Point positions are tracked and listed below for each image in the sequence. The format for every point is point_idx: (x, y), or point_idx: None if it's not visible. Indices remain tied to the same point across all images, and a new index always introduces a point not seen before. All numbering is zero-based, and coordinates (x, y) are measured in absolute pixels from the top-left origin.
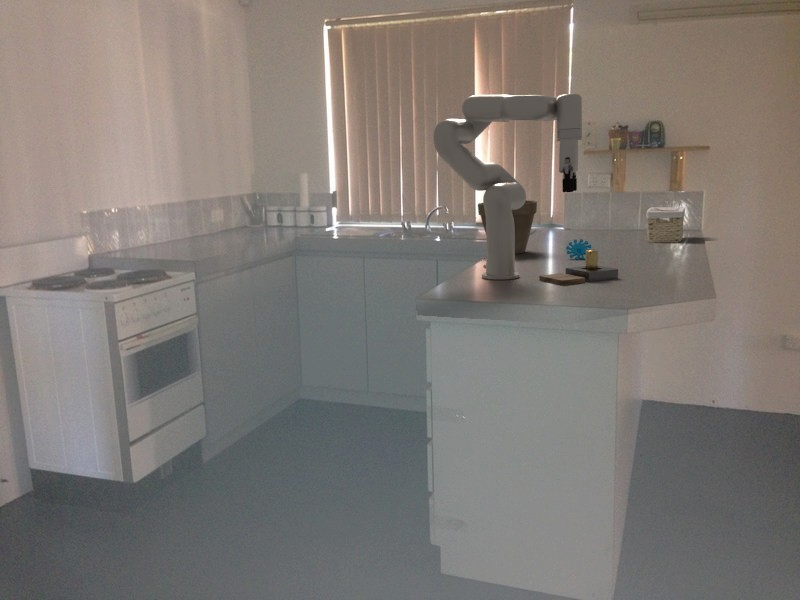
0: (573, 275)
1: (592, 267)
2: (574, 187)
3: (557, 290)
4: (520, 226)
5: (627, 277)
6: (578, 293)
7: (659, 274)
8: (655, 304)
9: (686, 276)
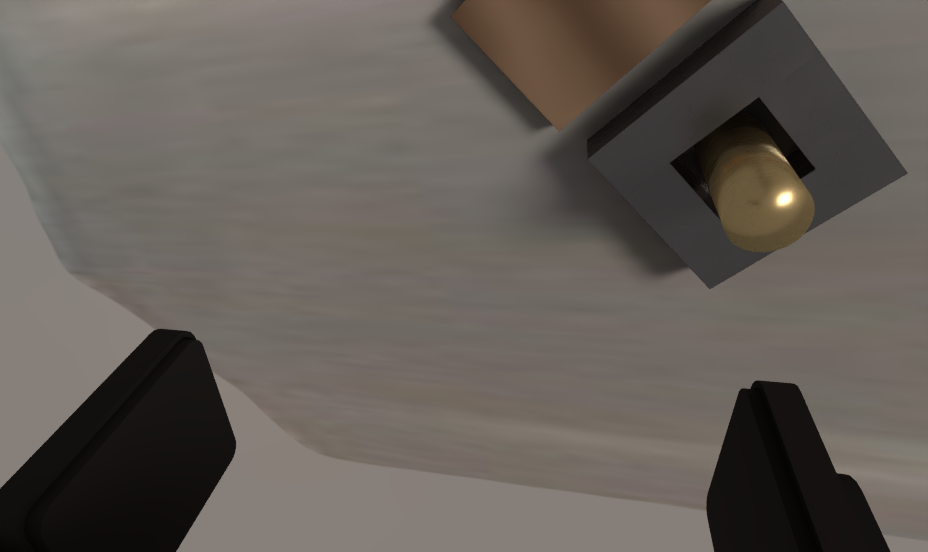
0: (700, 54)
1: (705, 176)
2: (721, 534)
3: (304, 7)
4: None
5: (723, 299)
6: (267, 113)
7: None
8: None
9: None
